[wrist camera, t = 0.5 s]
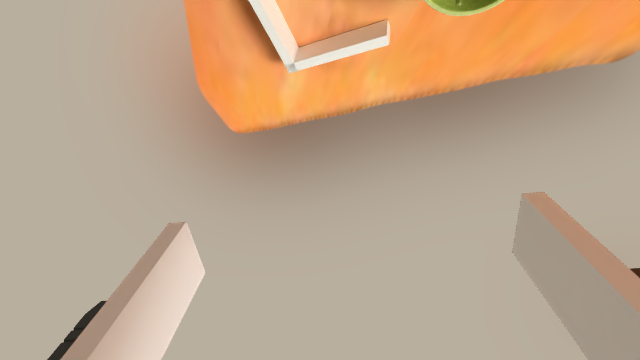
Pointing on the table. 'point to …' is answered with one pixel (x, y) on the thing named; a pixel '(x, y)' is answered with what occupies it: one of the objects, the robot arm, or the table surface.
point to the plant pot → (462, 6)
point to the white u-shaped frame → (320, 50)
